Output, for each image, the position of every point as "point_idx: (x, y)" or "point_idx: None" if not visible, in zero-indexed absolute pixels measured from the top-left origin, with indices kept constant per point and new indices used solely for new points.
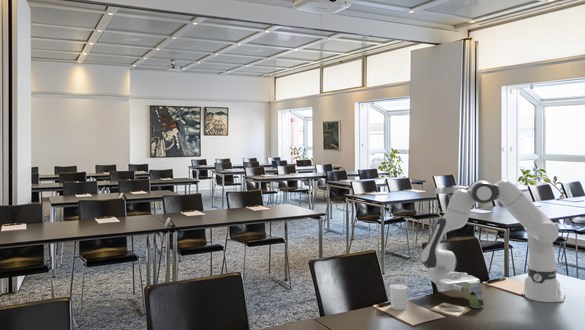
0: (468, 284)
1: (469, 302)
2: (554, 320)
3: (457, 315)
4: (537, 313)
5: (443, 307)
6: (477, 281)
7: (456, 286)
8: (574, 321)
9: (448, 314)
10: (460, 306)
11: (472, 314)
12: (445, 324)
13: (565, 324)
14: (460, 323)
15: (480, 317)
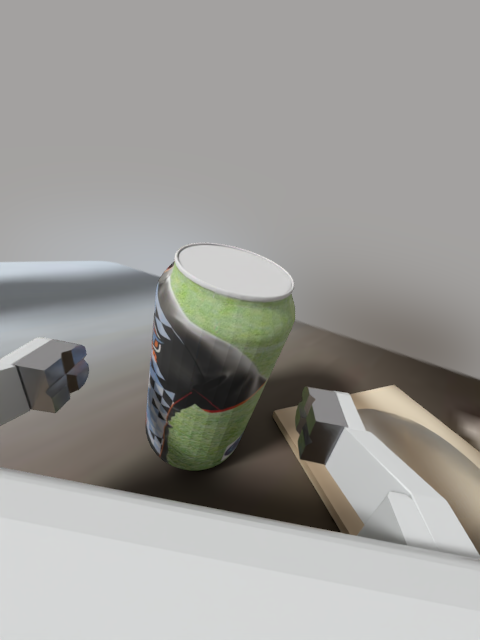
0: (292, 298)
1: (239, 437)
2: (118, 276)
3: (393, 387)
4: (77, 296)
5: (475, 530)
6: (203, 248)
7: (385, 456)
8: (91, 263)
9: (436, 423)
10: (316, 473)
11: (304, 379)
12: (457, 372)
13: (132, 268)
14: (395, 356)
15: (292, 352)
